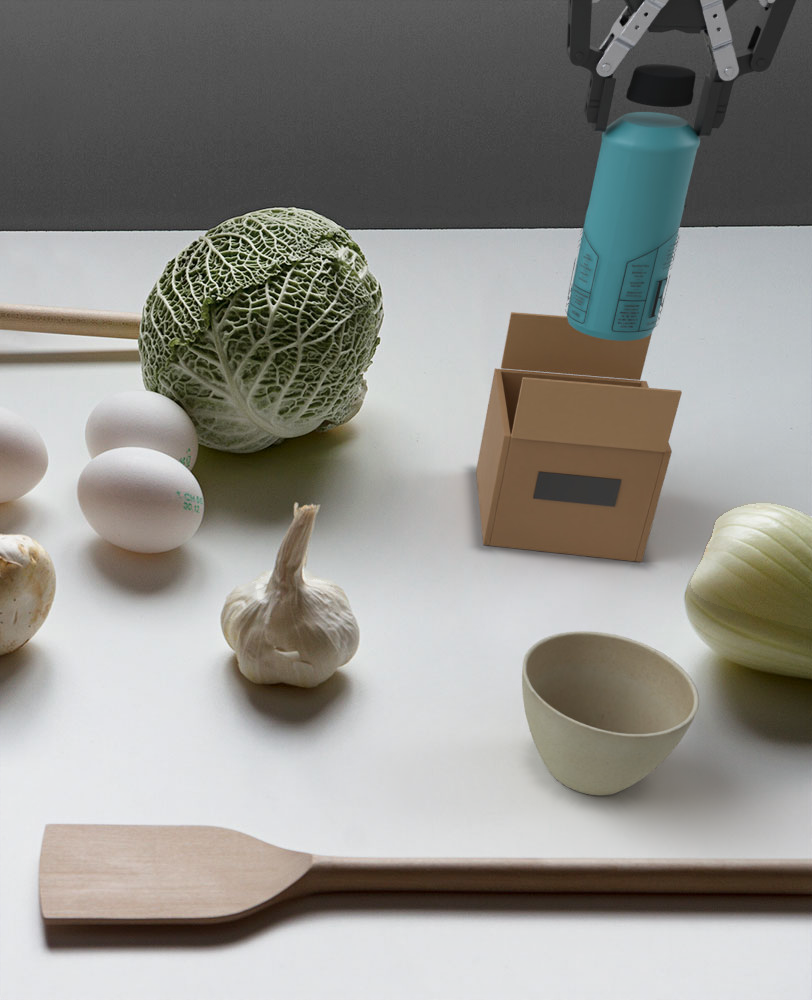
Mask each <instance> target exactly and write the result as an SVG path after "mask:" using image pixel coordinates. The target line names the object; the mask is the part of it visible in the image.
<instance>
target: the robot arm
mask: <svg viewBox="0 0 812 1000" xmlns="http://www.w3.org/2000/svg"><path fill="white" fill-rule="evenodd" d="M567 1H568V3H567V4H568V5H567V27H566V54H567V56H568V59H569V61H570V63H571V64H572V65H574V66H577V67H582V68H584V69H587V70H588V71H590V77H589V81H588V86H587V91H586V98H585V103H584V108H583V113H584V115H585V119H586V122H587V123H588V124H591V128H592V130H593V132H594V133H603V132H605V131H606V127H607V126H608V122H609V117H610V113H611V107H612V101H613V97H614V91H615V88H616V81H617V77H616V74H615V73H614V72H615V71H616V70H617V68H618V67H619V66H620V64H621V63H622V62H623V60H624V59H625V57H626V56H627V54H628V53H629V52H630V51H631V49H633V48H634V47H635V46H636V45H637V44H638V42H639V41H640V40H641V38H642V36H644V35H645V33H646V31H647V32H648V33H666V32H670V31H674V30H676V31H679V32H682V33H685V34H699V35H700V34H701V36H702V38H703V40H704V44H705V46H706V50H707V54H708V57H709V61H710V65H711V69H710V73H705V76H704V79H703V80H704V81H703V85H702V89H701V93H700V97H699V102H698V106H697V110H696V115H695V119H694V123H693V129H694V130H695V131H696V133H697V136H699V137H702V138H703V137H704V138H705V137H706V138H709V137H710V136H711V134H712V131H713V129H720V127H721V126H722V124H724V121H725V118H726V112H727V109H728V105H729V101H730V98H731V94H732V89H733V85H734V83H735V81H736V80H737V79H739V77H741V76H744V75H745V74H746V75H747V74H750V73H754V72H756V73H762V72H764V71H766V70H768V69H769V68H770V67H771V64H772V62H773V60H774V57H775V54H776V52H777V49H778V47H779V44H780V42H781V40H782V37H783V34H784V32H785V30H786V27H787V24H788V23H789V20H790V17H791V14H792V12H793V9H794V7H795V5H796V2H797V0H756V2H757V3H758V4H759V5H760V6H761V7H760V9H759V12H758V14H757V17H756V19H755V22H754V25H753V27H752V29H751V33H750V35H749V38H748V39H747V43H746V46H745V47H744V49H741V50H738V51H735V47H734V41H733V35H732V31H731V28H730V25H729V20H728V17H727V12H728V11H729V10H730V9H731V8H733V6H734V5H735V4H736V3H737V2H738V1H739V0H623V1H624V3H625V4H626V6H625V8H624V9H623V10H622V12H621V14H620V15H619V16H618V17H617V19H616V20H615V22H614V23H613V25H612V27H611V28H610V31H609V33H608V35H607V36H606V37H605V38H604V41H602V43H601V44H600V46H599V47H595V46H593V45H591V31H592V30H591V29H592V13H593V12H592V11H593V10H592V8H593V4H597V3H599V2H601V0H567Z"/></svg>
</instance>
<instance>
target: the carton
mask: <svg viewBox="0 0 812 1000" xmlns="http://www.w3.org/2000/svg"><path fill="white" fill-rule="evenodd" d="M508 322H509V323H508V326H507V331H506V336H505V337H506V338H505V342H504V346H503V347H504V349H503V353H502V360H501V364H500V368H494V371H493V377H492V382H491V387H490V393H489V398H488V403H487V410H486V414H485V420H484V425H483V431H482V436H481V441H480V442H481V443H480V448H479V453H478V457H477V458H478V459H477V463H476V469H475V470H476V471H475V474H476V484H477V495H478V504H479V514H480V515H479V516H480V524H481V537H482V545H484V546H491V547H498V548H509V549H516V550H517V549H518V550H526V551H527V550H528V551H536V552H545V553H546V552H547V553H555V554H564V555H565V554H566V555H574V556H581V557H582V556H583V557H590V558H599V559H601V558H602V559H609V560H619V561H628V562H638V563H642V562H643V559H644V555H645V552H646V548H647V544H648V541H649V538H650V534H651V529H652V526H653V523H654V519H655V515H656V511H657V508H658V504H659V500H660V496H661V494H662V489H663V486H664V483H665V478H666V475H667V471H668V468H669V464H670V460H671V456H672V453H673V450H672V448H671V445H670V443H669V442H670V437H671V433H672V430H673V427H674V422H675V419H676V415H677V412H678V408H679V404H680V401H681V396H682V390H678V389H668V388H667V389H666V388H656V387H655V388H654V387H650V386H649V384H648V381H647V380H642V375H643V371H644V367H645V363H646V358H647V355H648V351H649V347H650V343H651V339H652V336H653V332H652V333H651V334H650V335H649V336H647V337H645V338H642V339H638V340H631V341H616V340H607V339H601V338H597V337H593V336H590V335H587V334H584V333H582V332H580V331H578V330H576V329H575V328H573V327H572V326H571V325H570V324H569V322H568V319H567V315H557V314H556V315H555V314H542V313H528V312H516V311H511V312H510V316H509V321H508Z"/></svg>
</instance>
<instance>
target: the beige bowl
mask: <svg viewBox="0 0 812 1000" xmlns="http://www.w3.org/2000/svg"><path fill="white" fill-rule="evenodd" d="M521 671H522V673H521V689H522V700H523V701H522V702H523V707H524V713H525V718H526V722H527V725H528V729H529V732H530V736H531V737H532V740H533V743H534V746H535V748H536V750H537V753H538V754H539V756H540V758H541V760H542V762H543V764H544V765H545V767H546V769H547V770H548V772H549V773H550V774H551V775H552V777H553V778H554V779H555V780H557V781H558V782H559V783H561V784H562V785H563V786H565V787H566V788H569V789H570V790H573V791H576V792H578V793H581V794H586V795H591V796H611V795H614V794H617V793H619V792H622V791H623V790H626V789H627V788H629V787H632V786H633V785H635V784H636V783H638V782H640V781H641V780H642V779H644V778H645V777H647V776H648V775H649V774H650V773H652V772H653V771H654V770H655V769H657V767H659V765H661V764H662V763H663V762H664V761H665V760H666V759H667V758H668V757H669V756H670V755H671V753H672V752H673V751H674V750H675V748H676V747H678V745H679V743H680V742H681V741H682V740H683V738H684V736H685V735H686V733H687V732H688V730H689V728H690V726H691V725H692V723H693V721H694V719H695V717H696V715H697V712H698V710H699V706H700V696H699V692H698V689H697V687H696V684H695V682H694V680H693V679H692V678H691V677H690V675H689V674H688V673H687V671H686V670H685V669H684V668H683V667H681V665H680V664H678V663H677V662H676V661H675V660H673V659H672V658H671V657H669V656H667V655H666V654H665V653H663V652H661V651H659V650H657V648H654V647H651V646H650V645H648V644H646V643H643V642H641V641H638V640H636V639H632V638H629V637H626V636H621V635H617V634H613V633H608V632H599V631H585V630H584V631H582V630H579V631H567V632H560V633H555V634H552V635H549V636H547V637H544V638H542V639H540V640H539V641H537V642H536V643H534V644H533V645H532V646H531V647H530V648H529V649H528V651H527V652H526V653H525V655H524V657H523V661H522V670H521Z"/></svg>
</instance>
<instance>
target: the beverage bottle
mask: <svg viewBox="0 0 812 1000" xmlns="http://www.w3.org/2000/svg"><path fill="white" fill-rule="evenodd" d="M631 76H632V77H631V79H630V83H629V86H628V87H627V90H626V95H625V98H626V100H628V101H630V102H633V103H635V104H639V105H644V106H650V107H657V108H680V107H686V106H689V105H691V104H692V102H693V100H694V99H693V98H694V91H695V90H694V89H695V83H696V77H697V76H696V72H695V71H694V70H693V69H690V68H688V67H684V66H679V65H674V64H665V63H664V64H662V63H651V64H650V63H647V64H642V65H639V66H637V67H635V69H634V70H633V73H632V75H631ZM700 144H701V138H700V136H697V133H696V131H695V130H694V127H693V126H692V125H691V124H690V123H689V121H688V120H686V119H685V118H682V117H680V116H677V115H673V114H669V113H664V112H663V113H662V112H654V111H653V112H652V111H635V112H629V113H625V114H623V115H621V116H620V117H618V118H617V119H616V120H614V121H612V122H611V123H610V124H609V125H607V127H606V131H605V132H601V144H600V148H599V153H598V158H597V164H596V168H595V173H594V176H593V177H594V178H593V183H592V187H591V192H590V197H589V201H588V203H587V205H586V207H585V209H584V210H585V211H584V214H585V212H586V214H585V218H584V221H583V222H582V224H581V225H582V226H583V227H582V228H581V230H580V233H581V237H580V239H579V240H578V243H579V244H578V254H577V257H575V259H574V262H573V268H572V273H571V277H570V282H569V286H570V287H568V294H567V299H568V303H567V302H566V305H565V307H567V310H566V308H565V309H564V310H565V314H566V316H567V319H568V322H569V324H570V325H571V326H572V327H573V328H575V329H576V330H578V331H580V332H582V333H584V334H587V335H590V336H593V337H597V338H601V339H607V340H616V341H631V340H638V339H642V338H645V337H647V336H649V335H650V334H651V333H652V334H653V332H654V330H655V328H656V327H658V325H659V323H658V321H660V318H661V317H660V316H659V315H660V314H662V311H663V307H664V303H665V299H666V295H667V291H668V287H669V283H670V278H671V275H669V272H670V270H671V269H672V268H673V259H675V258H676V253H677V252H676V251H677V249H676V248H677V247H678V243H679V240H680V236H679V232H680V231H679V230H680V228H681V226H682V224H683V223H682V219H683V218H682V217H683V213H684V209H685V212H686V208H687V205H686V200H687V194H688V190H689V186H690V181H691V176H692V174H693V173H692V172H693V168H694V165H695V160H696V156H697V151H698V148H699V147H700ZM576 259H577V260H576ZM573 274H574V275H573ZM664 293H665V294H664Z"/></svg>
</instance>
